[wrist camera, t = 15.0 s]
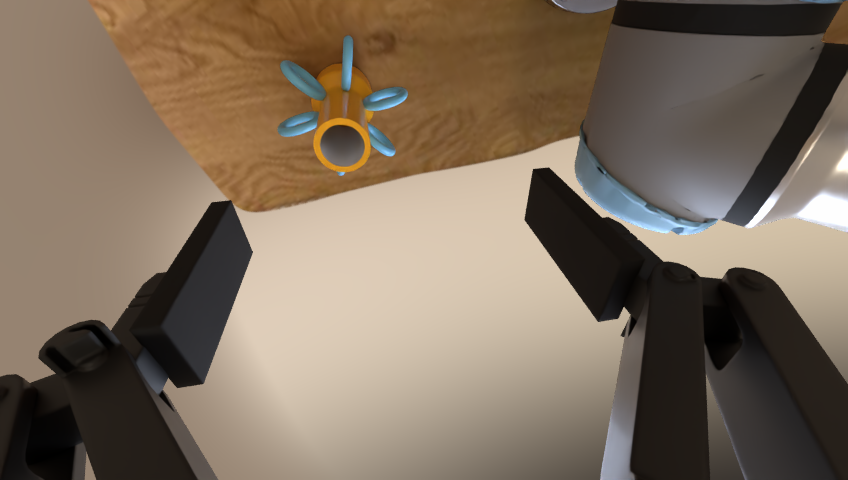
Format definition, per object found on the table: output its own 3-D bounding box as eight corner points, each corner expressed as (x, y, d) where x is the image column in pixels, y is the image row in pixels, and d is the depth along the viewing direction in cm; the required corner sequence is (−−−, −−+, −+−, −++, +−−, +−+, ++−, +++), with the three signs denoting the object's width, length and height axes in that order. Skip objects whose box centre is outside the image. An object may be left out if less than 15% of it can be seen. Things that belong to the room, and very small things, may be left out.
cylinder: (418, 94, 38) (451, 143, 26) (360, 163, 42) (366, 235, 30) (322, 2, 32) (309, 13, 20) (263, 92, 35) (221, 147, 24)
